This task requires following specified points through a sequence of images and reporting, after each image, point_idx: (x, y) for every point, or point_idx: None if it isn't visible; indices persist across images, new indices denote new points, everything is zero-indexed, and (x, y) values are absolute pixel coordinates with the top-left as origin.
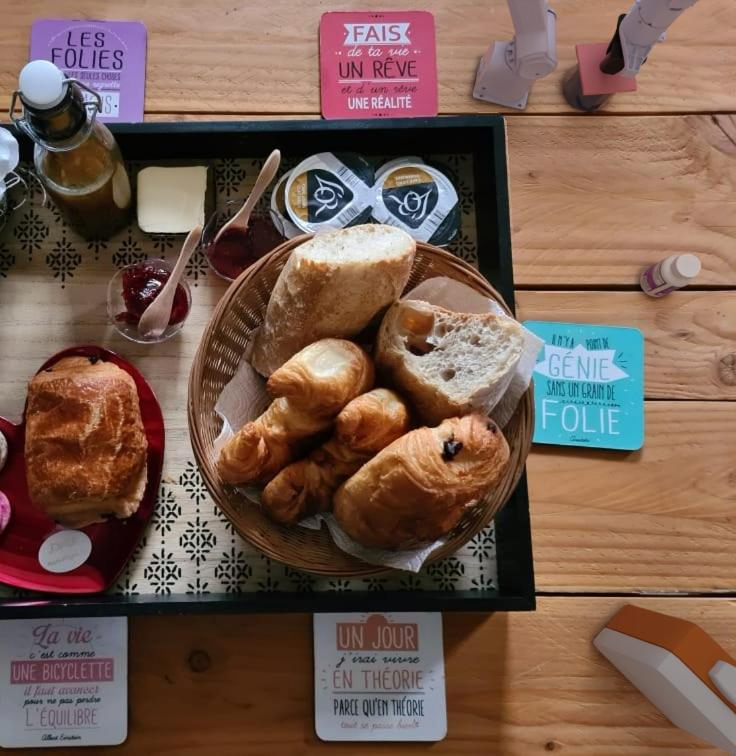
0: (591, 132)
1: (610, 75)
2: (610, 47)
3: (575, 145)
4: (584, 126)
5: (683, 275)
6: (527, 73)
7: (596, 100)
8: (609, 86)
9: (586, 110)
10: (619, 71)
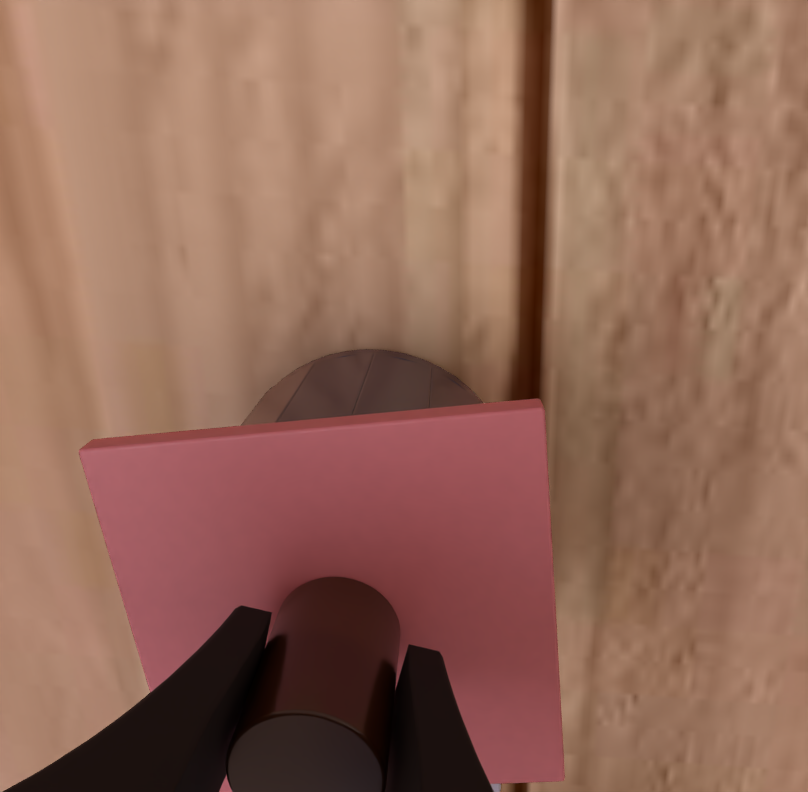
0: (642, 466)
1: (411, 608)
2: (221, 779)
3: (714, 554)
4: (601, 501)
5: None
6: None
7: None
8: (509, 622)
9: None
10: (455, 703)
